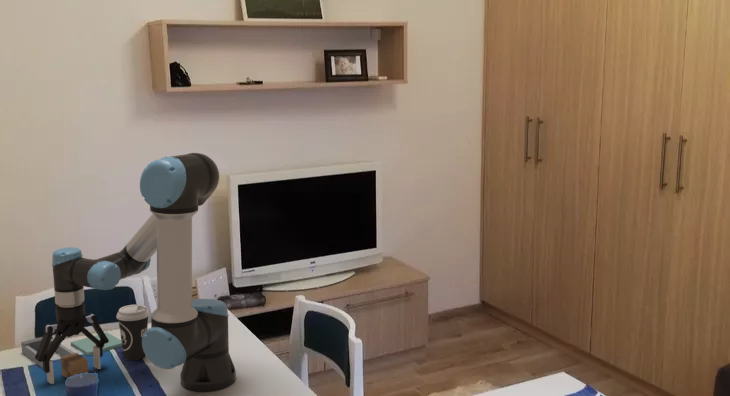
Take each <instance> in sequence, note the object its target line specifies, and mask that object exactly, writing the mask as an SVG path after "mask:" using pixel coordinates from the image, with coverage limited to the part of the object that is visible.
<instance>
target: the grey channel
mask: <svg viewBox="0 0 730 396" xmlns="http://www.w3.org/2000/svg"><path fill="white" fill-rule="evenodd" d="M42 338H43V336H40V337H35V338H32V339H28V340H25V341H21V342H20V345H21V354H22V355H23V356H25V357H26V358H28V359H29V360H31V361H32V362H34V363H35V364H36V365H37V366H39V367H40V368H42V369H43V362H39V361H37V360H36V359H35V356H36V353H37V351H38V348H39V345H40V343H41V340H42ZM53 339H54V337H53V336H52V338H51V340H50V343H49V346H50V344H51V342H52V341H53ZM49 346H48V347H49ZM55 353H56V354H58V355H59V356H60V357H63V356H67V355H70V354H74V353H76V352H75V351H73V350H71V349H69V348H68V347H67V346H65V345H63V344H62V343H61V344H60V345H59V347H58V349H57V350H56V352H55Z"/></svg>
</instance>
